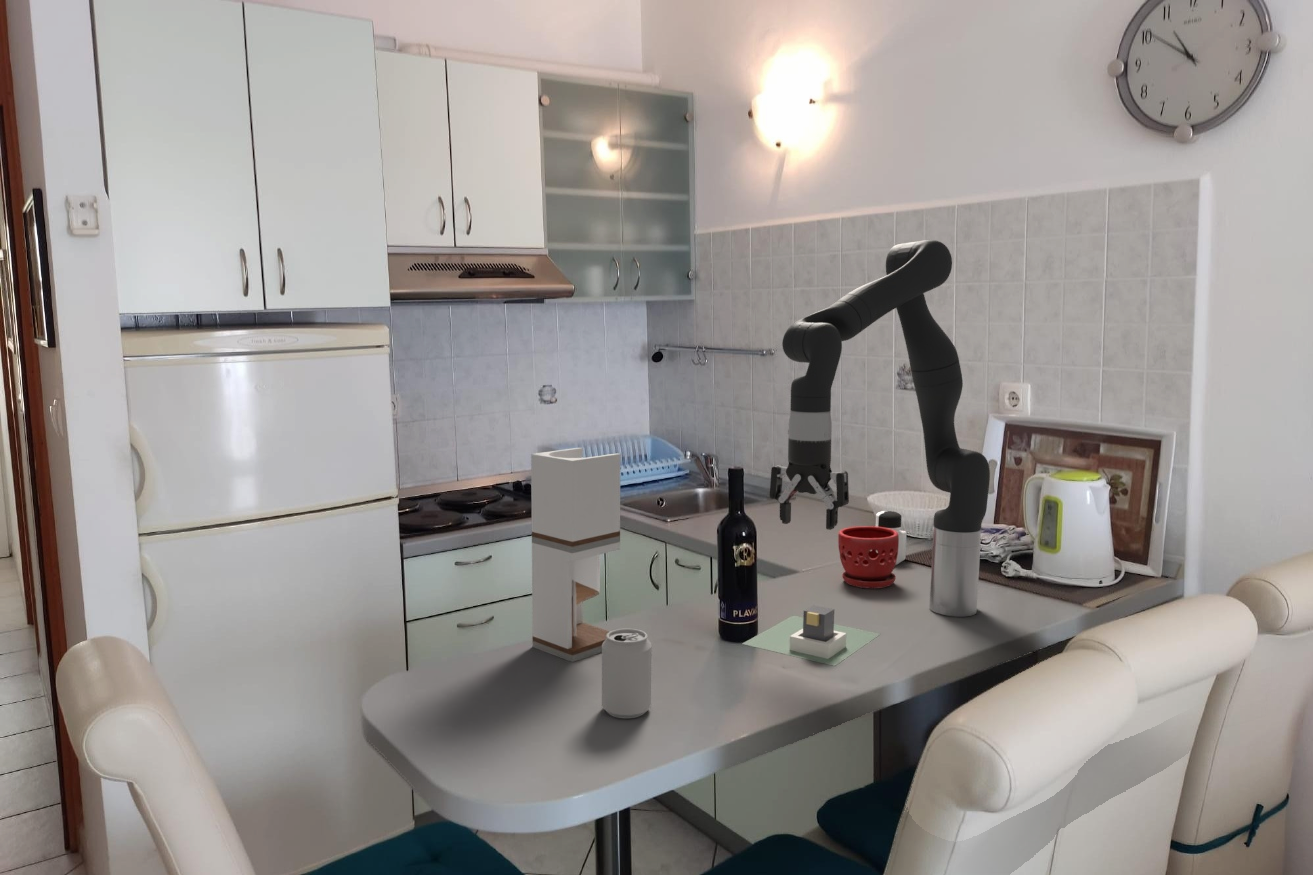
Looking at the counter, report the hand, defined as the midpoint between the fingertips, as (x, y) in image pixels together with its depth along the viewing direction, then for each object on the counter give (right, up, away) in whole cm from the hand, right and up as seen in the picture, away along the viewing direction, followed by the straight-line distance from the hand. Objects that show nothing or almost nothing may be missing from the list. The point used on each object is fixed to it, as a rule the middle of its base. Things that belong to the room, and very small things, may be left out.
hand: (807, 525), depth 172 cm
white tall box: (-42, -22, +1) cm, 47 cm away
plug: (+1, -21, -3) cm, 22 cm away
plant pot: (+20, -17, +43) cm, 50 cm away
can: (-32, -26, -26) cm, 49 cm away
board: (+1, -22, +3) cm, 22 cm away
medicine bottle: (+29, -14, +63) cm, 71 cm away
